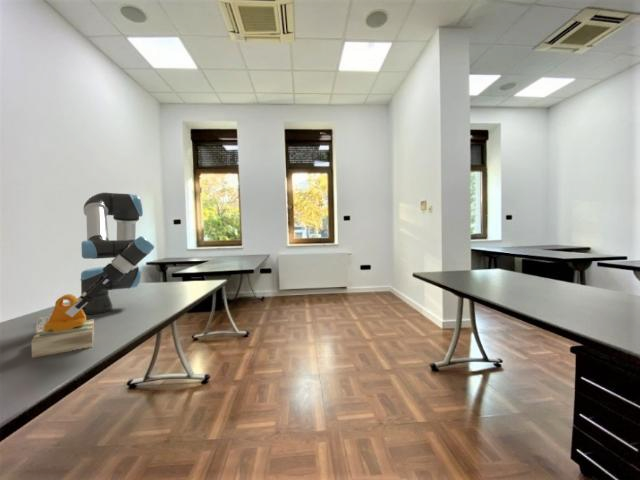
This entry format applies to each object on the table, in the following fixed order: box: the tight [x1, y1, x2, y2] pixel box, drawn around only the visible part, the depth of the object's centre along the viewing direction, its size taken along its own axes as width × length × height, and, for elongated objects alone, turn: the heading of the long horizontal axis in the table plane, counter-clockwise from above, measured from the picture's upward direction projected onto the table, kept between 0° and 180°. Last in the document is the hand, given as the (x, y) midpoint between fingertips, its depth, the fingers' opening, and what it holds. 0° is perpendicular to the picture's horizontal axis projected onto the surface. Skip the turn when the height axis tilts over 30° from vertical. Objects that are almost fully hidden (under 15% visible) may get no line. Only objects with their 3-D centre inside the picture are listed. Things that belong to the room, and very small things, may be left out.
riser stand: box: [30, 318, 95, 359], centre depth 109 cm, size 18×16×6 cm
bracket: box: [44, 294, 87, 332], centre depth 109 cm, size 11×7×12 cm, turn 119°
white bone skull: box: [35, 312, 52, 333], centre depth 122 cm, size 12×9×10 cm
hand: (70, 310), depth 110 cm, fingers open, 13 cm apart
